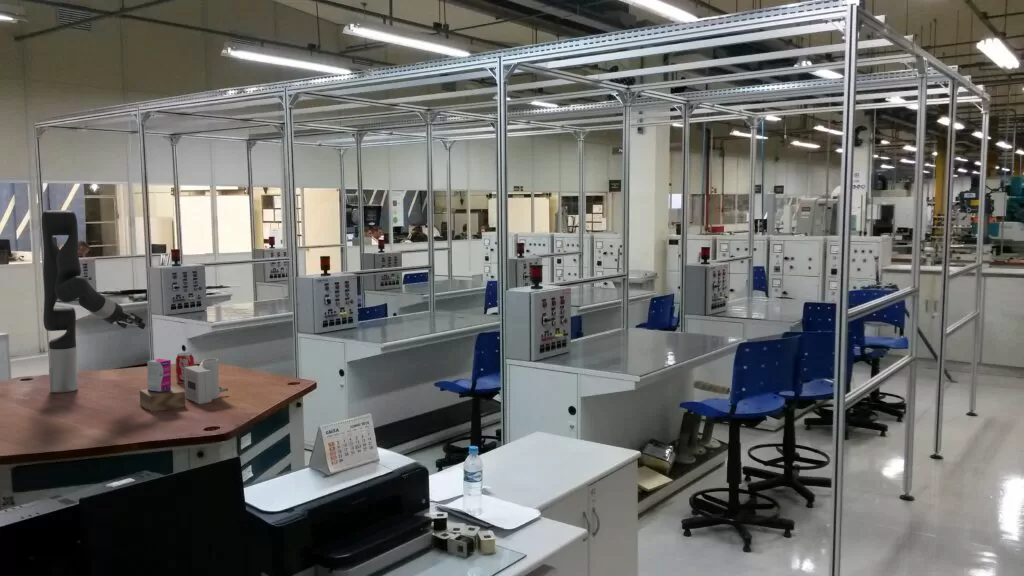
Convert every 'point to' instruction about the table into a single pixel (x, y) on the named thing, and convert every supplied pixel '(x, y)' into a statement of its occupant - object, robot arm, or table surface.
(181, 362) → the soda can
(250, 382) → the table surface
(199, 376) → the thermostat
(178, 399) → the walnut block
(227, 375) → the table surface
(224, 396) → the table surface
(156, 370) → the supplement box
